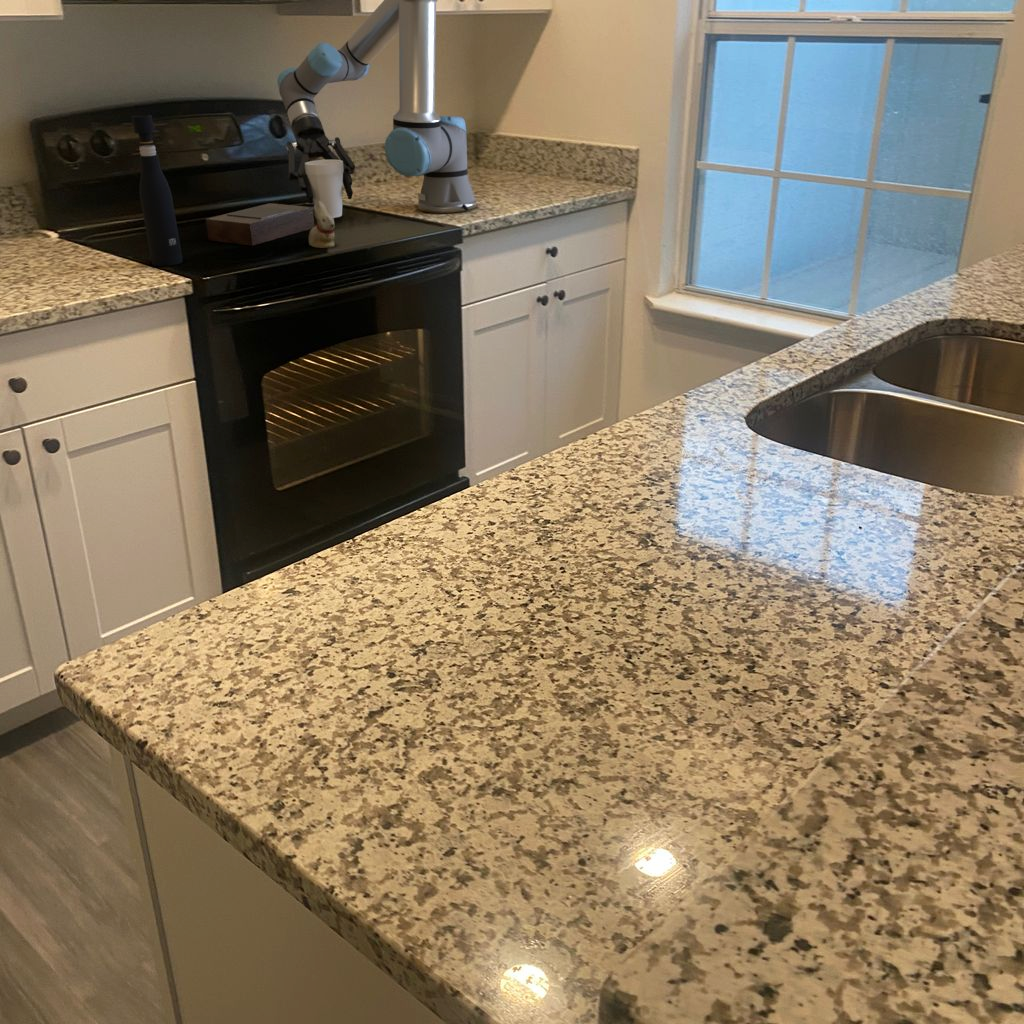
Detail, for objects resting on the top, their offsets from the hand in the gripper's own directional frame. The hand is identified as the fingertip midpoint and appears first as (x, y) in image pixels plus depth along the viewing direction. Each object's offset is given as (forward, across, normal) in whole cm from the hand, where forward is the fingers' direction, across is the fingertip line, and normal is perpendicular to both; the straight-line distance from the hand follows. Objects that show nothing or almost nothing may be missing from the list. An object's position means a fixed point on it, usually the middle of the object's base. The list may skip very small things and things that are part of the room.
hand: (331, 197), depth 255 cm
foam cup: (+1, 0, -6) cm, 6 cm away
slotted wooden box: (+7, +19, -2) cm, 20 cm away
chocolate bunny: (+21, +10, +12) cm, 26 cm away
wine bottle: (+21, +44, +12) cm, 50 cm away
